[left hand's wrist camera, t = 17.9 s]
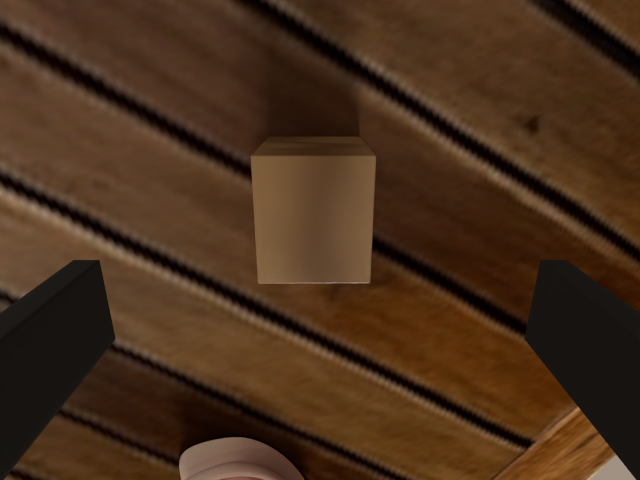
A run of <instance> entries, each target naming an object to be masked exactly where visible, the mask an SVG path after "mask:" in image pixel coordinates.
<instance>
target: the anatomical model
mask: <svg viewBox="0 0 640 480" xmlns="http://www.w3.org/2000/svg"><path fill="white" fill-rule="evenodd" d="M179 469H180V475H181V480H304V478H303V477H302V475H301V474H300V473H299V471H298V470H297V469H296V468H295V467H294V465H293V464H292V463H291V462H290V461H289V460H288V459H287V458H285V457H284V456H283V455H282V454H281V453H279V452H278V451H276V450H275V449H273V448H271V447H270V446H268V445H266V444H264V443H261V442H259V441H256V440H253V439H249V438H242V437H230V438H221V439H216V440H211V441H207V442H203V443H200V444H197V445H195V446H192V447H191V448H189V449H187V450H186V451H185V452H184V453H183V454H182V456H181V458H180V462H179Z"/></svg>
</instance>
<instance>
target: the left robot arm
mask: <svg viewBox="0 0 640 480" xmlns="http://www.w3.org/2000/svg"><path fill="white" fill-rule="evenodd" d="M114 340H115V335H114V330H113V325H112V320H111V315H110V310H109V305H108V300H107V295H106V290H105V285H104V281H103V276H102V271H101V266H100V261H99V260H73V261H72V262H70V263H69V264H68V265H66V266H65V267H63V268H62V269H61V270H59V271H58V272H57V273H55V274H54V275H52V276H51V277H50V278H48V279H47V280H46V281H44V282H43V283H41V284H40V285H39V286H37V287H36V288H34V289H33V290H32V291H30V292H29V293H28V294H26V295H25V296H23V297H22V298H21V299H19V300H18V301H17V302H15V303H14V304H12V305H11V306H10V307H8V308H7V309H5V310H4V311H3V312H1V313H0V480H4V479H5V477H6V476H7V475H8V474H9V472H10V471H11V470H12V469H13V467H14V466H15V465H16V463H17V462H18V461H19V460H20V458H21V457H22V456H23V455H24V453H25V452H26V451H27V450H28V448H29V447H30V446H31V445H32V443H33V442H34V441H35V440H36V438H37V437H38V436H39V435H40V433H41V432H42V431H43V430H44V428H45V427H46V426H47V425H48V423H49V422H50V421H51V419H52V418H53V417H54V416H55V414H56V413H57V412H58V411H59V409H60V408H61V407H62V406H63V404H64V403H65V402H66V401H67V399H68V398H69V397H70V396H71V394H72V393H73V392H74V391H75V389H76V388H77V387H78V386H79V384H80V383H81V382H82V380H83V379H84V378H85V377H86V375H87V374H88V373H89V372H90V370H91V369H92V368H93V367H94V365H95V364H96V363H97V362H98V360H99V359H100V358H101V357H102V355H103V354H104V353H105V352H106V350H107V349H108V348H109V347H110V345H111V344H112V343H113V341H114ZM525 340H526V341H527V343H528V344H529V345H530V347H531V348H532V349H533V350H534V352H535V353H536V354H537V355H538V357H539V358H540V359H541V360H542V362H543V363H544V364H545V365H546V367H547V368H548V369H549V370H550V372H551V373H552V374H553V375H554V377H555V378H556V379H557V380H558V382H559V383H560V384H561V386H562V387H563V388H564V389H565V391H566V392H567V393H568V394H569V396H570V397H571V398H572V399H573V401H574V402H575V403H576V404H577V406H578V407H579V408H580V409H581V411H582V412H583V413H584V414H585V416H586V417H587V418H588V419H589V421H590V422H591V423H592V425H593V426H594V427H595V428H596V430H597V431H598V432H599V433H600V435H601V436H602V437H603V438H604V440H605V441H606V442H607V443H608V445H609V446H610V447H611V448H612V450H613V451H614V452H615V453H616V455H617V456H618V457H619V458H620V460H621V461H622V462H623V463H624V465H625V466H626V467H627V469H628V470H629V471H630V472H631V473H632V475H633V476H634V477H635V478H636V480H640V313H639V312H637V311H636V310H635V309H633V308H632V307H630V306H629V305H628V304H626V303H625V302H623V301H622V300H621V299H619V298H618V297H617V296H615V295H614V294H612V293H611V292H610V291H608V290H607V289H606V288H604V287H603V286H601V285H600V284H599V283H597V282H596V281H594V280H593V279H592V278H590V277H589V276H588V275H586V274H585V273H583V272H582V271H581V270H579V269H578V268H577V267H575V266H574V265H572V264H571V263H570V262H568V261H567V260H541V261H540V266H539V271H538V276H537V281H536V285H535V290H534V295H533V300H532V305H531V310H530V315H529V320H528V325H527V330H526V335H525Z"/></svg>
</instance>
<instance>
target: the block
mask: <svg viewBox="0 0 640 480" xmlns="http://www.w3.org/2000/svg"><path fill="white" fill-rule="evenodd" d="M251 169H252V187H253V205H254V222H255V240H256V257H257V275H258V283H259V284H264V283H370V275H371V254H372V233H373V212H374V190H375V169H376V155H375V154H374V153H373V152H372V151H371V150H370V148H369V147H368V146H367V145H366V144H365V142H364V141H363V140H362V139H361V138H360V137H268V138H267V139H266V140H265V141H264V142H263V143H262V144H261V145H260V147H259V148H258V149H257V150H256V151H255V152H254V153H253V154H252V155H251Z"/></svg>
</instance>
